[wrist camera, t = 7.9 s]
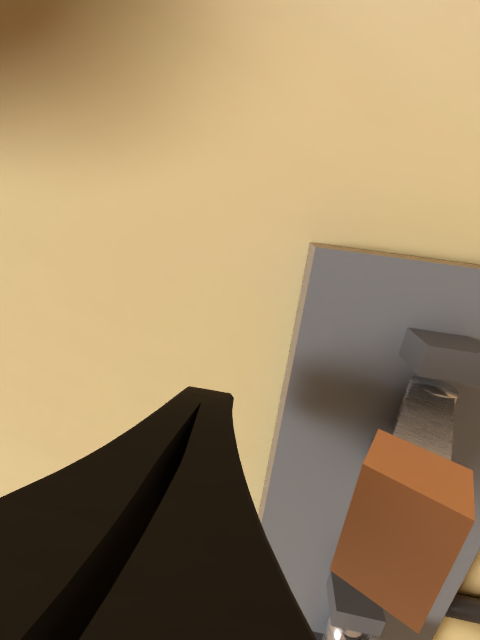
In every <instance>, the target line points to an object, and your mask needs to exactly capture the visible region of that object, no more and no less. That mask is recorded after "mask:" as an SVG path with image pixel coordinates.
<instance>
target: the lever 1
mask: <svg viewBox="0 0 480 640" xmlns="http://www.w3.org/2000/svg"><path fill="white" fill-rule="evenodd" d="M322 640H374V639H373V637H372V635H368V634H364V633H360V632H355V631H351V630H346V629H342V628H338V627H333V626H331V620H330V616H329V619H328V622H327V625H326V628H325V631H324V634H323V637H322Z"/></svg>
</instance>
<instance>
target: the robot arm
mask: <svg viewBox="0 0 480 640" xmlns="http://www.w3.org/2000/svg"><path fill="white" fill-rule="evenodd" d="M233 400H234V398H233V396H232V395H231V394H230V393H225V392H219V391H213V390H207V389H202V388H196V387H190V386H189V387H187V388H186V389H184V390H183V391H182V392H180V393H179V394H178V395H176V396H175V397H174V398H172V399H171V400H170V401H169V402H167V403H166V404H165V405H163V406H162V407H161V408H159V409H158V410H157V411H155V412H154V413H152V414H151V415H150V416H148V417H147V418H145V419H144V420H143V421H141V422H140V423H139V424H137V425H136V426H134V427H133V428H131V429H130V430H128V431H127V432H125V433H123V434H122V435H120V436H119V437H117V438H116V439H114V440H113V441H111V442H110V443H108V444H106V445H105V446H103V447H101V448H100V449H98V450H96V451H94V452H93V453H91V454H89V455H87V456H86V457H84V458H82V459H80V460H78V461H76V462H74V463H72V464H71V465H69V466H67V467H65V468H63V469H61V470H59V471H57V472H55V473H53V474H51V475H49V476H46V477H44V478H42V479H40V480H38V481H36V482H33V483H31V484H29V485H27V486H25V487H23V488H20V489H18V490H16V491H14V492H12V493H10V494H7V495H5V496H3V497H1V498H0V640H317V639H316V637H315V635H314V634H313V632H312V630H311V628H310V626H309V624H308V622H307V620H306V618H305V616H304V614H303V612H302V610H301V608H300V606H299V605H298V603H297V601H296V599H295V597H294V595H293V593H292V591H291V589H290V587H289V585H288V582H287V580H286V578H285V576H284V574H283V572H282V569H281V567H280V565H279V563H278V561H277V559H276V556H275V554H274V552H273V550H272V548H271V546H270V544H269V541H268V539H267V537H266V534H265V532H264V529H263V527H262V524H261V522H260V519H259V517H258V514H257V512H256V509H255V506H254V503H253V501H252V498H251V495H250V492H249V489H248V486H247V483H246V480H245V476H244V473H243V469H242V465H241V462H240V458H239V454H238V449H237V444H236V439H235V434H234V427H233V418H232V407H233Z"/></svg>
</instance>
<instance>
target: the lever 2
mask: <svg viewBox="0 0 480 640" xmlns="http://www.w3.org/2000/svg"><path fill="white" fill-rule="evenodd" d="M458 396H459V393H458V391H457V390H456V389H455V388H453V387H452V386H451V385H449V384H447V383H445V382H443V381H441V380H437V379H431V378H425V377H419V376H417V375H414V376H411V377H410V380H409V383H408V386H407V389H406V392H405V395H404V397H403V400H402V403H401V406H400V409H399V412H398V415H397V418H396V421H395V424H394V427H393V430H392V433H391V434H389V433H387V432H385V431H383V430H380V429H378V431H377V433H376V436H375V438H374V440H373V442H372V444H371V446H370V449H369V451H368V453H367V455H366V457H365V460H364V462H363V464H362V467H361V471H360V474H359V477H358V480H357V483H356V487H355V490H354V493H353V496H352V499H351V503H350V506H349V509H348V512H347V515H346V518H345V522H344V525H343V528H342V531H341V534H340V538H339V541H338V544H337V547H336V550H335V554H334V557H333V560H332V563H331V566H330V569H329V570H330V571H332V572H333V573H335V574H336V575H337V576H339V577H340V578H342V579H343V580H344V581H346V582H347V583H348V584H350V585H351V586H353V587H354V588H355V589H357V590H358V591H360V592H361V593H362V594H364V595H365V596H366V597H368V598H369V599H371V600H372V601H373V602H375V603H376V604H377V605H379V606H380V607H382V608H383V609H384V610H386V611H387V612H389V613H390V614H391V615H393V616H394V617H395V618H397V619H398V620H400V621H401V622H402V623H404V624H405V625H407V626H408V627H409V628H411V629H412V630H413V631H415V632H416V633H418V634H419V633H420V631H421V629H422V627H423V624H424V622H425V620H426V618H427V616H428V614H429V612H430V610H431V608H432V606H433V604H434V602H435V600H436V598H437V596H438V594H439V592H440V590H441V588H442V586H443V584H444V582H445V580H446V578H447V576H448V574H449V572H450V570H451V568H452V566H453V564H454V562H455V560H456V558H457V556H458V554H459V552H460V550H461V548H462V546H463V544H464V542H465V540H466V538H467V536H468V534H469V532H470V530H471V528H472V526H473V524H474V522H475V505H474V480H473V470H471V469H468V468H466V467H464V466H462V465H459V464H457V463H455V462H453V461H451V455H452V438H453V420H454V406H455V403H456V401H457V398H458Z"/></svg>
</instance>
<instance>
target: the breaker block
mask: <svg viewBox="0 0 480 640" xmlns="http://www.w3.org/2000/svg"><path fill="white" fill-rule="evenodd" d="M414 375H417V376H419V377H425V378H431V379H437V380H441V381H443V382H445V383H447V384H449V385H451V386H452V387H453V388H455V389H456V390H457V391H458V393H459V396H458V398H457V401H456V403H455V406H454V420H453V438H452V455H451V461H453V462H455V463H457V464H459V465H462V466H464V467H466V468H468V469H471V470H473V480H474V505H475V522H474V524H473V526H472V528H471V530H470V532H469V534H468V536H467V538H466V540H465V542H464V544H463V546H462V548H461V550H460V552H459V554H458V556H457V558H456V560H455V562H454V564H453V566H452V568H451V570H450V572H449V574H448V576H447V578H446V580H445V582H444V584H443V586H442V588H441V590H440V592H439V594H438V596H437V598H436V600H435V602H434V604H433V606H432V608H431V610H430V612H429V614H428V616H427V618H426V620H425V622H424V624H423V627H422V629H421V631H420V633H419V634H418V633H416V632H415V631H413V630H412V629H411V628H409V627H408V626H407V625H405V624H404V623H402V622H401V621H400V620H398V619H397V618H395V617H394V616H393V615H391V614H390V613H389V612H387V611H386V610H384V609H383V608H382V607H380V606H379V605H377V604H376V603H375V602H373V601H372V600H371V599H369V598H368V597H366V596H365V595H364V594H362V593H361V592H360V591H358V590H357V589H355V588H354V587H353V586H351V585H350V584H348V583H347V582H346V581H344V580H343V579H342V578H340V577H339V576H337V575H336V574H335V573H333V572H332V571H330V570H329V569H330V566H331V563H332V560H333V557H334V554H335V550H336V547H337V544H338V541H339V538H340V534H341V531H342V528H343V525H344V522H345V518H346V515H347V512H348V509H349V506H350V503H351V499H352V496H353V493H354V490H355V487H356V483H357V480H358V477H359V474H360V471H361V467H362V464H363V462H364V460H365V457H366V455H367V453H368V451H369V449H370V446H371V444H372V442H373V440H374V438H375V436H376V433H377V431H378V429H380V430H383V431H385V432H387V433H389V434H391V433H392V430H393V427H394V424H395V421H396V418H397V415H398V412H399V409H400V406H401V403H402V400H403V397H404V395H405V392H406V389H407V386H408V383H409V380H410V377H411V376H414ZM258 517H259V519H260V522H261V524H262V527H263V529H264V532H265V534H266V537H267V539H268V541H269V544H270V546H271V548H272V550H273V552H274V554H275V556H276V559H277V561H278V563H279V565H280V567H281V569H282V572H283V574H284V576H285V578H286V580H287V582H288V585H289V587H290V589H291V591H292V593H293V595H294V597H295V599H296V601H297V603H298V605H299V606H300V608H301V610H302V612H303V614H304V616H305V618H306V620H307V622H308V624H309V626H310V628H311V630H312V632H313V634H314V635H315V637H316V639H317V640H322V637H323V634H324V631H325V628H326V625H327V622H328V619H329V616H330V620H331V626H333V627H338V628H342V629H346V630H351V631H355V632H360V633H364V634H368V635H372V637H373V639H374V640H432V639H433V637H434V635H435V633H436V631H437V629H438V627H439V625H440V623H441V622H442V620H443V618H444V616H447V617H451V618H456V619H460V620H465V621H469V622H474V623H478V624H480V599H478V598H473V597H468V596H464V595H459V594H456V593H457V591H458V589H459V587H460V585H461V584H462V582H463V580H464V578H465V576H466V574H467V572H468V570H469V568H470V566H471V565H472V563H473V561H474V559H475V557H476V555H477V553H478V551H479V549H480V265H476V264H469V263H461V262H454V261H446V260H439V259H431V258H424V257H416V256H408V255H401V254H393V253H386V252H378V251H371V250H363V249H356V248H348V247H341V246H333V245H326V244H318V243H311V242H310V246H309V251H308V256H307V261H306V267H305V272H304V277H303V283H302V288H301V293H300V298H299V304H298V309H297V314H296V320H295V325H294V330H293V335H292V341H291V346H290V351H289V357H288V362H287V367H286V372H285V378H284V383H283V388H282V394H281V399H280V404H279V409H278V415H277V420H276V425H275V431H274V436H273V441H272V446H271V452H270V457H269V462H268V468H267V473H266V478H265V483H264V489H263V494H262V499H261V505H260V510H259V515H258Z"/></svg>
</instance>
